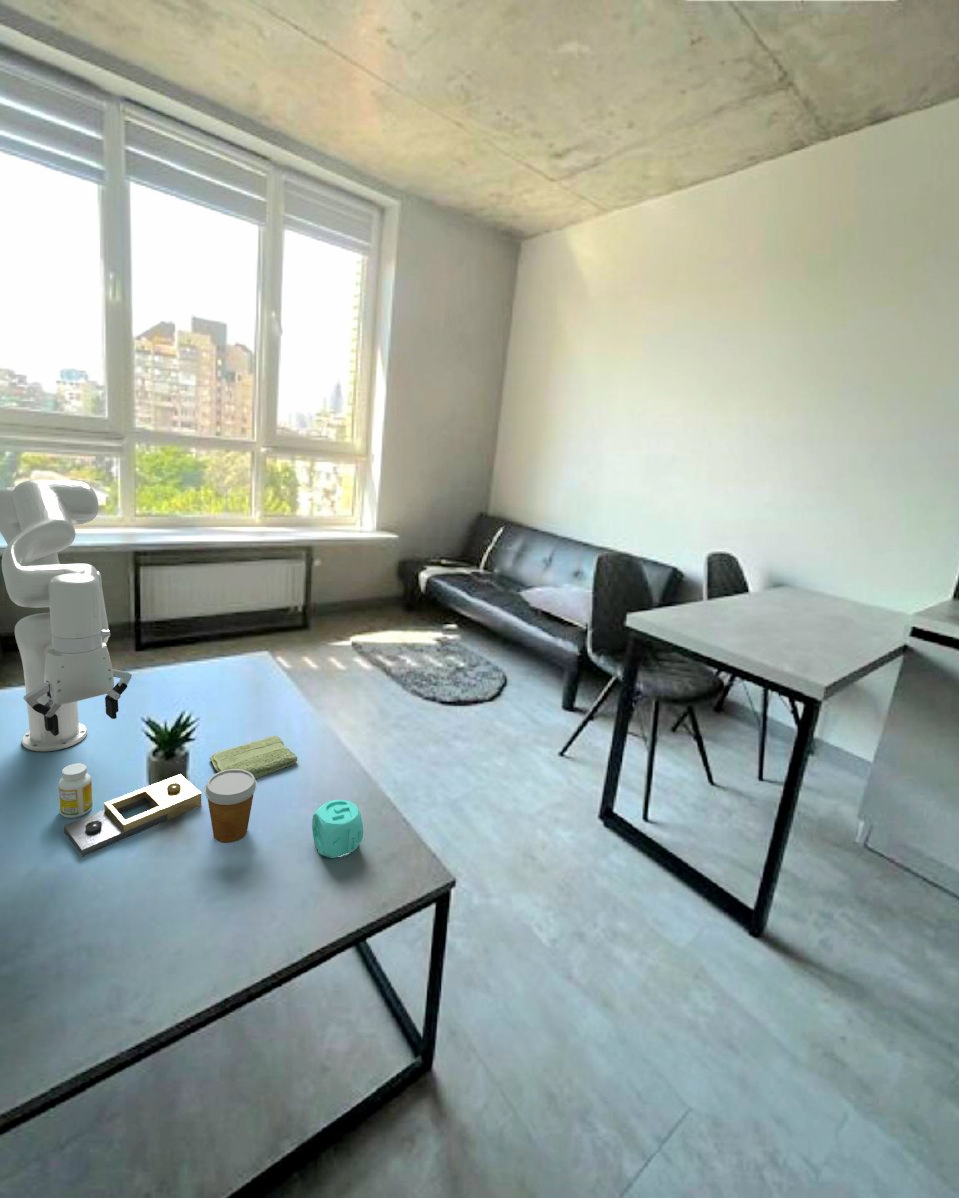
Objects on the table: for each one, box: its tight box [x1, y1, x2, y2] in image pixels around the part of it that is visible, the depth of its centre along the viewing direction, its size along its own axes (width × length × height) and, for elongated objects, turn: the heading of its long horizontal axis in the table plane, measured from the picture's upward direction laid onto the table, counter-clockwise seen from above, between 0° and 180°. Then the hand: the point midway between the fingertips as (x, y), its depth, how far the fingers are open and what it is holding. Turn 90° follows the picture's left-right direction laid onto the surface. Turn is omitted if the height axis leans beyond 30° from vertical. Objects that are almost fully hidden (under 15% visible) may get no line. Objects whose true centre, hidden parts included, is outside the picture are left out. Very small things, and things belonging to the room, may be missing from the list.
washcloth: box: [209, 735, 298, 779], centre depth 138 cm, size 13×18×3 cm
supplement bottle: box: [58, 762, 93, 819], centre depth 114 cm, size 5×5×10 cm
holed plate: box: [63, 773, 202, 858], centre depth 115 cm, size 9×22×4 cm, turn 143°
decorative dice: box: [311, 799, 364, 859], centre depth 115 cm, size 8×8×8 cm
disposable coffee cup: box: [203, 769, 258, 844], centre depth 113 cm, size 10×10×12 cm
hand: (83, 724), depth 109 cm, fingers open, 9 cm apart
